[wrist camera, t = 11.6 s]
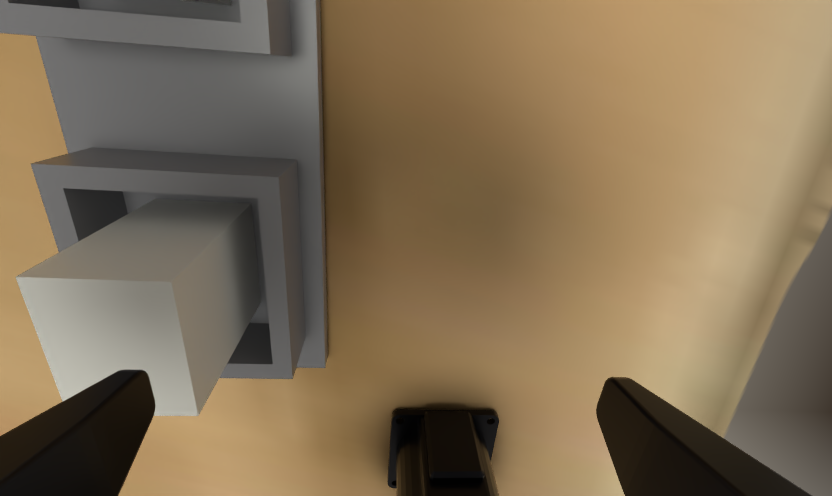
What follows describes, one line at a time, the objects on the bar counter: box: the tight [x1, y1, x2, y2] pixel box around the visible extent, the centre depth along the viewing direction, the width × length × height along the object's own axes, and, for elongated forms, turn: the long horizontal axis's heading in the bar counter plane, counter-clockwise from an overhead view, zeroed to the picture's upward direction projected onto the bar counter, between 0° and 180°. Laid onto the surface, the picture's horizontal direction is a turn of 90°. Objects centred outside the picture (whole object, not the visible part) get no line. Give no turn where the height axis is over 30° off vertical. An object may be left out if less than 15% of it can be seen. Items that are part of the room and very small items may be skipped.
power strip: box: [0, 0, 328, 379], centre depth 15 cm, size 26×10×4 cm, turn 176°
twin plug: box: [16, 199, 261, 416], centre depth 15 cm, size 5×4×7 cm
